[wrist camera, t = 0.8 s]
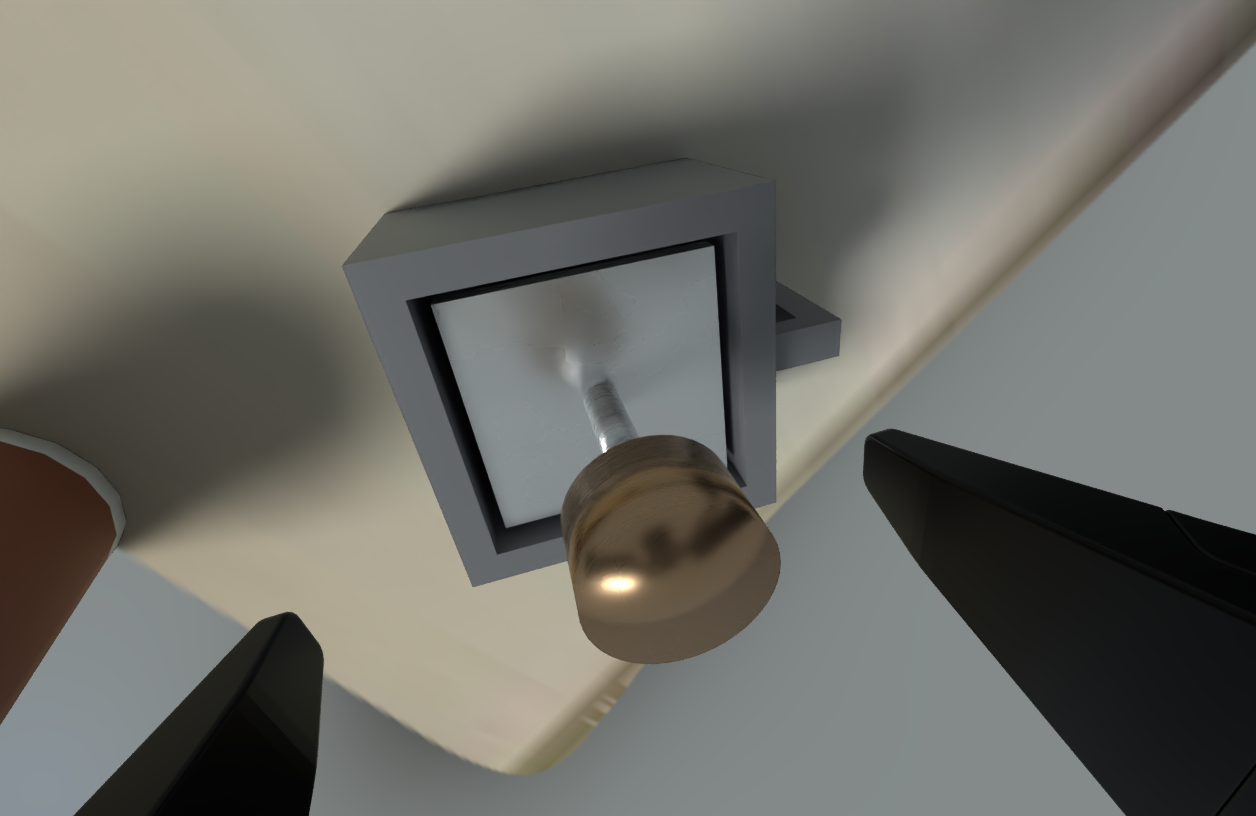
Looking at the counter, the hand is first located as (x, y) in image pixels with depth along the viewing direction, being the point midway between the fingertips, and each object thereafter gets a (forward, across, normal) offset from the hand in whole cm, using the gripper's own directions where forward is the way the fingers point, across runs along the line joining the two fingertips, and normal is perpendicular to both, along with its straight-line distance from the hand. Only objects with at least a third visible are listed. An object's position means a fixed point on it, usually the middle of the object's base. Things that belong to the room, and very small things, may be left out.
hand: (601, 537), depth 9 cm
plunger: (+8, -1, +2) cm, 8 cm away
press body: (+13, -2, +2) cm, 13 cm away
